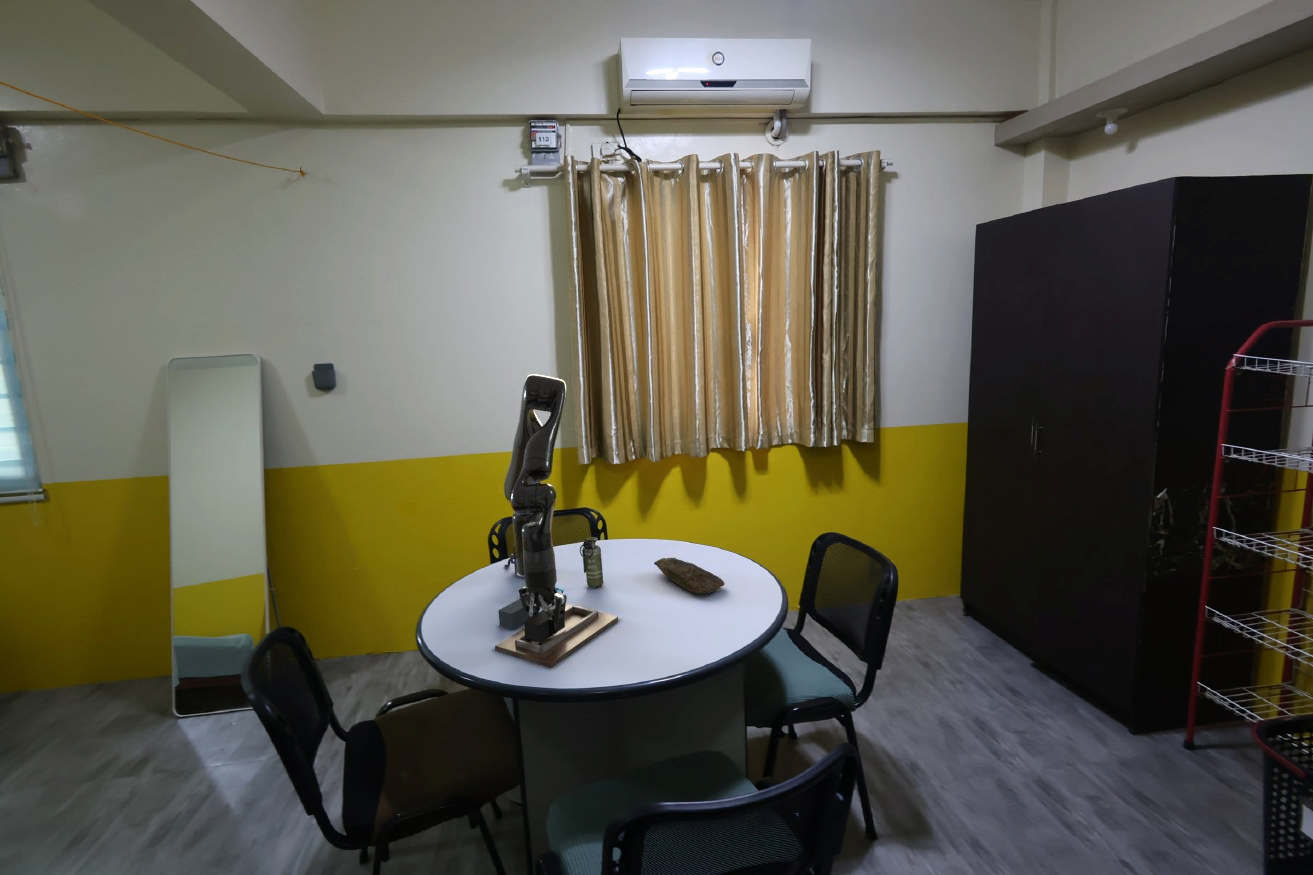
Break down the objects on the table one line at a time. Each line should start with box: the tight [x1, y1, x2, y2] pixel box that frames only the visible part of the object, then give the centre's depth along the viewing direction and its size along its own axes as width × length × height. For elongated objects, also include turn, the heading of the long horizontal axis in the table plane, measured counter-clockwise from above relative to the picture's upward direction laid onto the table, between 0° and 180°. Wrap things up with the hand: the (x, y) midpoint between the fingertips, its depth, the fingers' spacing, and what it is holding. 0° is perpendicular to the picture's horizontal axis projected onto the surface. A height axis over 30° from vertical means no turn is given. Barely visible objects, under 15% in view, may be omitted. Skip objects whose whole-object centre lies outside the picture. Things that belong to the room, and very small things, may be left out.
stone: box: [653, 557, 726, 594], centre depth 183 cm, size 11×27×6 cm, turn 34°
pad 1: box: [497, 598, 531, 631], centre depth 163 cm, size 5×9×4 cm, turn 148°
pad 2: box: [523, 606, 565, 643], centre depth 150 cm, size 5×9×4 cm, turn 148°
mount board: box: [494, 603, 619, 669], centre depth 154 cm, size 18×26×3 cm
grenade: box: [579, 536, 604, 589], centre depth 182 cm, size 6×6×15 cm
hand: (545, 630), depth 150 cm, fingers closed on pad 2, 5 cm apart
